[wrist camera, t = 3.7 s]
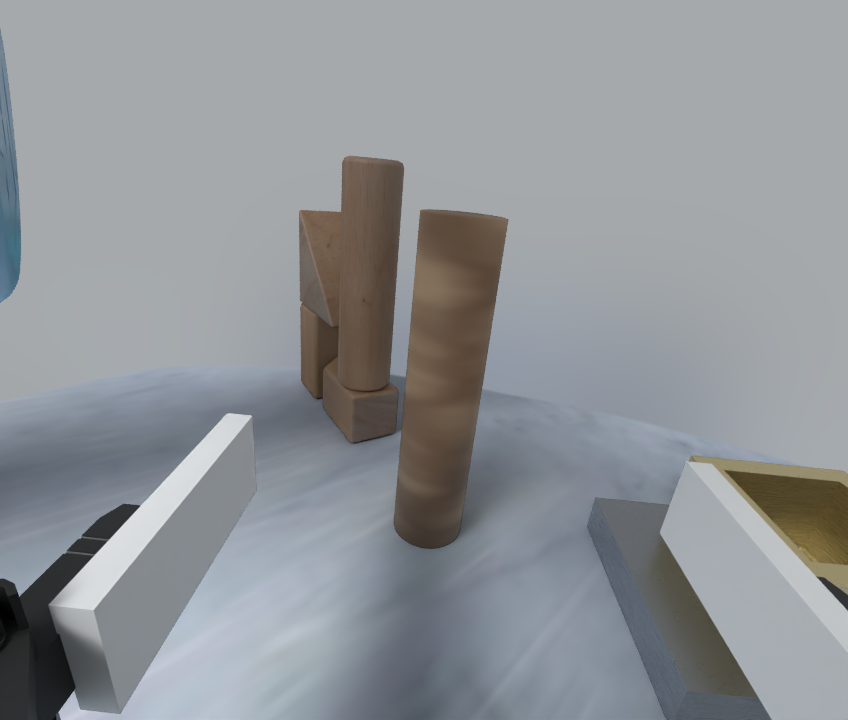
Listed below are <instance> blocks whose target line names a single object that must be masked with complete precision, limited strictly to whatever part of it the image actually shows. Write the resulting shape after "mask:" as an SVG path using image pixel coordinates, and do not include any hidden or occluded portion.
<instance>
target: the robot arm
mask: <svg viewBox="0 0 848 720" xmlns="http://www.w3.org/2000/svg"><path fill="white" fill-rule="evenodd" d="M20 261H21V226H20V204H19V187H18V174H17V161H16V150H15V139H14V129H13V120H12V109H11V100H10V91H9V83H8V75H7V68H6V61H5V53H4V47H3V41H2V36H1V31H0V303H1V302H2V301H3V300H5V299H6V298H7V297H9V296H10V295H11V293H12V292H13V290H14V289H15V287H16V285H17V283H18V280H19V274H20ZM256 490H257V484H256V467H255V450H254V433H253V416H251V415H241V414H232V413H227V414H226V415H225V416H224V417H223V418H222V419H221V420H220V422H219V423H218V424H217V425H216V426H215V427H214V428H213V429H212V430H211V431H210V432H209V433H208V434H207V435H206V437H205V438H204V439H203V440H202V441H201V442H200V443H199V444H198V445H197V446H196V447H195V448H194V449H193V450H192V452H191V453H190V454H189V455H188V456H187V457H186V458H185V459H184V460H183V461H182V462H181V463H180V464H179V465H178V467H177V468H176V469H175V470H174V471H173V472H172V473H171V474H170V475H169V476H168V477H167V478H166V479H165V480H164V482H163V483H162V484H161V485H160V486H159V487H158V488H157V489H156V490H155V491H154V492H153V493H152V494H151V495H150V497H149V498H148V499H147V500H146V501H145V502H144V503H143V504H142V505H141V506H139V505H130V504H123V505H121V506H119V507H117V508H116V509H114V510H112V511H111V512H109V513H107V514H106V515H104V516H102V517H101V518H99V519H98V520H97V521H96V522H95V523H94V524H93V525H92V526H91V527H90V528H89V529H88V530H87V531H86V532H85V533H84V534H83V535H82V538H81V539H78V540H77V541H76V542H75V543H74V544H73V545H72V546H71V547H70V548H69V549H68V550H67V553H66V554H63V555H62V556H61V557H60V558H59V559H57V560H56V561H55V562H54V563H53V564H52V565H51V566H50V567H49V568H48V569H47V570H46V571H45V572H44V573H43V574H42V575H41V576H40V577H39V578H38V579H37V580H36V581H35V582H34V583H33V584H32V585H31V586H30V587H29V588H28V589H27V590H26V591H25V592H24V593H23V594H22V595H21V596H20V597H19V595H18V592H17V589H16V587H15V584H14V583H12V582H10V581H8V580H5V579H0V720H61V719H60V716H59V713H58V712H59V710H60V709H61V708H62V706H63V705H64V703H65V702H66V701H67V699H68V698H69V697H70V695H71V694H72V692H73V691H74V690H75V694H76V697H77V700H78V703H79V707H80V709H81V710H90V711H99V712H108V713H117V714H121V712H122V710H123V709H124V707H125V705H126V704H127V702H128V700H129V699H130V697H131V696H132V694H133V692H134V691H135V689H136V687H137V686H138V684H139V682H140V681H141V679H142V677H143V676H144V674H145V673H146V671H147V669H148V668H149V666H150V664H151V663H152V661H153V659H154V658H155V656H156V654H157V653H158V651H159V650H160V648H161V646H162V645H163V643H164V641H165V640H166V638H167V636H168V635H169V633H170V631H171V630H172V628H173V627H174V625H175V623H176V622H177V620H178V618H179V617H180V615H181V613H182V612H183V610H184V609H185V607H186V605H187V604H188V602H189V600H190V599H191V597H192V595H193V594H194V592H195V590H196V589H197V587H198V586H199V584H200V582H201V581H202V579H203V577H204V576H205V574H206V572H207V571H208V569H209V567H210V566H211V564H212V563H213V561H214V559H215V558H216V556H217V554H218V553H219V551H220V549H221V548H222V546H223V544H224V543H225V541H226V540H227V538H228V536H229V535H230V533H231V531H232V530H233V528H234V526H235V525H236V523H237V521H238V520H239V518H240V517H241V515H242V513H243V512H244V510H245V508H246V507H247V505H248V503H249V502H250V500H251V499H252V497H253V495H254V494H255V492H256ZM660 534H661V536H662V537H663V539H664V541H665V542H666V544H667V546H668V547H669V549H670V551H671V552H672V554H673V556H674V557H675V559H676V561H677V562H678V564H679V566H680V567H681V569H682V571H683V572H684V574H685V576H686V577H687V579H688V581H689V582H690V584H691V586H692V587H693V589H694V591H695V592H696V594H697V596H698V597H699V599H700V601H701V602H702V604H703V606H704V607H705V609H706V611H707V612H708V614H709V616H710V617H711V619H712V621H713V622H714V624H715V626H716V627H717V629H718V631H719V632H720V634H721V636H722V637H723V639H724V641H725V642H726V644H727V646H728V647H729V649H730V651H731V652H732V654H733V656H734V657H735V659H736V661H737V662H738V664H739V666H740V667H741V669H742V671H743V672H744V674H745V676H746V677H747V679H748V681H749V683H750V684H751V686H752V688H753V689H754V691H755V693H756V694H757V696H758V698H759V699H760V701H761V703H762V704H763V706H764V708H765V709H766V711H767V713H768V714H769V716H770V718H771V719H772V720H848V595H847V594H846V593H845V592H843V591H842V590H841V589H839V588H838V587H837V586H835V585H834V584H833V583H831V582H830V581H828V580H827V579H826V578H824V577H817V576H815V575H814V574H813V573H812V572H811V571H810V569H809V568H808V567H807V566H806V565H805V564H804V563H803V562H802V561H801V560H800V559H799V558H798V557H797V555H796V554H795V553H794V552H793V551H792V550H791V549H790V548H789V547H788V546H787V545H786V544H785V542H784V541H783V540H782V539H781V538H780V537H779V536H778V535H777V534H776V533H775V532H774V531H773V530H772V528H771V527H770V526H769V525H768V524H767V523H766V522H765V521H764V520H763V519H762V518H761V517H760V515H759V514H758V513H757V512H756V511H755V510H754V509H753V508H752V507H751V506H750V505H749V504H748V502H747V501H746V500H745V499H744V498H743V497H742V496H741V495H740V494H739V493H738V492H737V491H736V490H735V488H734V487H733V486H732V485H731V484H730V483H729V482H728V481H727V480H726V479H725V478H724V477H723V475H722V474H721V473H720V472H719V471H718V470H717V469H716V468H715V467H714V466H713V465H712V464H709V463H699V462H690V461H686V463H685V466H684V468H683V471H682V474H681V476H680V479H679V482H678V484H677V487H676V490H675V493H674V495H673V498H672V501H671V503H670V506H669V509H668V511H667V514H666V517H665V519H664V522H663V525H662V528H661V530H660Z"/></svg>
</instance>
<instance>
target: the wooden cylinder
mask: <svg viewBox="0 0 848 720" xmlns="http://www.w3.org/2000/svg"><path fill="white" fill-rule="evenodd" d="M507 225H508V219H506V218H502V217H498V216H492V215H485V214H478V213H469V212H459V211H448V210H420V219H419V231H418V244H417V255H416V267H415V278H414V290H413V302H412V313H411V325H410V337H409V349H408V361H407V373H406V384H405V396H404V407H403V419H402V431H401V443H400V455H399V466H398V478H397V490H396V502H395V514H394V527H395V530H396V531H397V533H398V534H399V536H400V537H401V538H402V539H404V540H405V541H406V542H408V543H410V544H412V545H414V546H417V547H421V548H440V547H443V546H446V545H448V544H450V543H451V542H453V541H454V540H455V539H456V538H457V536H458V534H459V532H460V526H461V520H462V513H463V507H464V501H465V494H466V488H467V481H468V475H469V469H470V462H471V456H472V449H473V443H474V436H475V430H476V424H477V417H478V411H479V404H480V398H481V392H482V385H483V379H484V372H485V366H486V359H487V353H488V346H489V340H490V334H491V327H492V321H493V315H494V308H495V302H496V296H497V289H498V283H499V276H500V270H501V263H502V257H503V251H504V244H505V238H506V231H507Z"/></svg>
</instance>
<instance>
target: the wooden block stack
mask: <svg viewBox="0 0 848 720" xmlns="http://www.w3.org/2000/svg"><path fill="white" fill-rule="evenodd" d="M403 176H404V166H403V164H402V163H401V162H399V161H394V160H387V159H378V158H368V157H357V156H348V157H345V158H344V160H343V162H342V204H341V212H329V211H308V210H300V211H299V234H300V235H299V236H300V237H299V238H300V239H299V240H300V301H301V302H302V304H301V307H300V311H301V381H302V383H303V384H304V385H305V386H306V388H307V389H308V390H309V392H310V393H311V394H312V395H313V397H315V398H321V397H323V408H324V410H325V411H326V412H327V414H328V415H329V416H330V417H331V419H332V420H333V421H334V422H335V424H336V425H337V426H338V427H339V429H340V430H341V431H342V432H343V434H344V435H345V436H346V437H347V439H348V440H349V441H350V442H351V443H356V442H360V441H364V440H368V439H372V438H376V437H380V436H384V435H389V434H393V433H394V432H395V430H396V419H397V406H398V394H399V393H398V390H397V388H396V387H394V386H393V385H392V384H391V383H390V382H389V379H390V364H391V350H392V335H393V321H394V306H395V292H396V278H397V262H398V249H399V234H400V220H401V219H400V218H401V205H402V191H403Z"/></svg>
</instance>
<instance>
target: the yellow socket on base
mask: <svg viewBox="0 0 848 720" xmlns="http://www.w3.org/2000/svg"><path fill="white" fill-rule="evenodd" d="M689 461H690V462H699V463H709V464H712V465H713V466H714V467H715V468H716V469H717V470H718V471H719V472H720V473H721V474H722V475H723V477H724V478H725V479H726V480H727V481H728V482H729V483H730V484H731V485H732V486H733V487H734V488H735V490H736V491H737V492H738V493H739V494H740V495H741V496H742V497H743V498H744V499H745V500H746V501H747V502H748V504H749V505H750V506H751V507H752V508H753V509H754V510H755V511H756V512H757V513H758V514H759V515H760V517H761V518H762V519H763V520H764V521H765V522H766V523H767V524H768V525H769V526H770V527H771V528H772V530H773V531H774V532H775V533H776V534H777V535H778V536H779V537H780V538H781V539H782V540H783V541H784V542H785V544H786V545H787V546H788V547H789V548H790V549H791V550H792V551H793V552H794V553H795V554H796V555H797V557H798V558H799V559H800V560H801V561H802V562H803V563H804V564H805V565H806V566H807V567H808V568H809V569H810V571H811V572H812V573H813V574H814V575H815V576H817V577H824V578H826V579H827V580H828V581H830V582H831V583H833V584H834V585H835V586H837V587H838V588H839V589H841V590H842V591H843V592H845V593H846V594H847V595H848V474H847V473H846V472H844V471H840V470H830V469H820V468H810V467H800V466H790V465H781V464H771V463H761V462H751V461H741V460H731V459H721V458H711V457H701V456H692V455H691V457H690V460H689ZM669 506H670V505H663V504H654V503H644V502H634V501H624V500H614V499H604V498H595V501H594V505H593V508H592V512H591V515H590V519H589V522H588V525H587V527H588V529H589V532H590V534H591V537H592V539H593V542H594V544H595V547H596V549H597V551H598V554H599V556H600V559H601V561H602V564H603V566H604V568H605V571H606V573H607V576H608V578H609V581H610V583H611V585H612V588H613V590H614V593H615V595H616V598H617V600H618V602H619V605H620V607H621V610H622V612H623V615H624V617H625V619H626V622H627V624H628V627H629V629H630V632H631V634H632V636H633V639H634V641H635V644H636V646H637V649H638V651H639V654H640V656H641V658H642V661H643V663H644V666H645V668H646V671H647V673H648V675H649V678H650V680H651V683H652V685H653V688H654V690H655V692H656V695H657V697H658V700H659V702H660V705H661V707H662V709H663V712H664V714H665V717H666V719H667V720H772V719H771V718H770V716H769V714H768V713H767V711H766V709H765V708H764V706H763V704H762V703H761V701H760V699H759V698H758V696H757V694H756V693H755V691H754V689H753V688H752V686H751V684H750V683H749V681H748V679H747V677H746V676H745V674H744V672H743V671H742V669H741V667H740V666H739V664H738V662H737V661H736V659H735V657H734V656H733V654H732V652H731V651H730V649H729V647H728V646H727V644H726V642H725V641H724V639H723V637H722V636H721V634H720V632H719V631H718V629H717V627H716V626H715V624H714V622H713V621H712V619H711V617H710V616H709V614H708V612H707V611H706V609H705V607H704V606H703V604H702V602H701V601H700V599H699V597H698V596H697V594H696V592H695V591H694V589H693V587H692V586H691V584H690V582H689V581H688V579H687V577H686V576H685V574H684V572H683V571H682V569H681V567H680V566H679V564H678V562H677V561H676V559H675V557H674V556H673V554H672V552H671V551H670V549H669V547H668V546H667V544H666V542H665V541H664V539H663V537H662V536H661V534H660V530H661V528H662V525H663V522H664V519H665V517H666V514H667V511H668V509H669Z"/></svg>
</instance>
